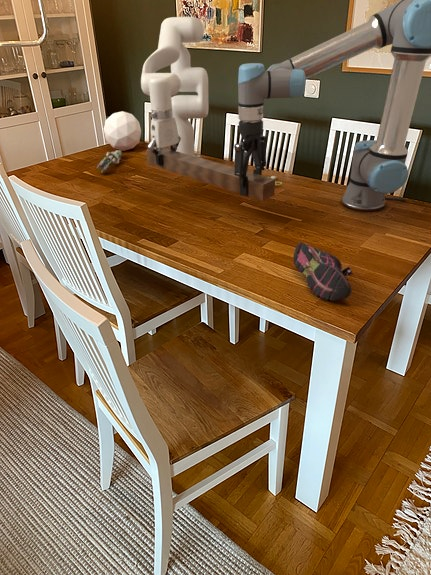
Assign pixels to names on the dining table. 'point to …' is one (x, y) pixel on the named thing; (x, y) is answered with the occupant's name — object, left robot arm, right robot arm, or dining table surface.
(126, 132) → the sphere
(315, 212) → the dining table surface
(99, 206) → the dining table surface
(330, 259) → the athletic shoe
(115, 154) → the figurine
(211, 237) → the dining table surface
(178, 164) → the beam
